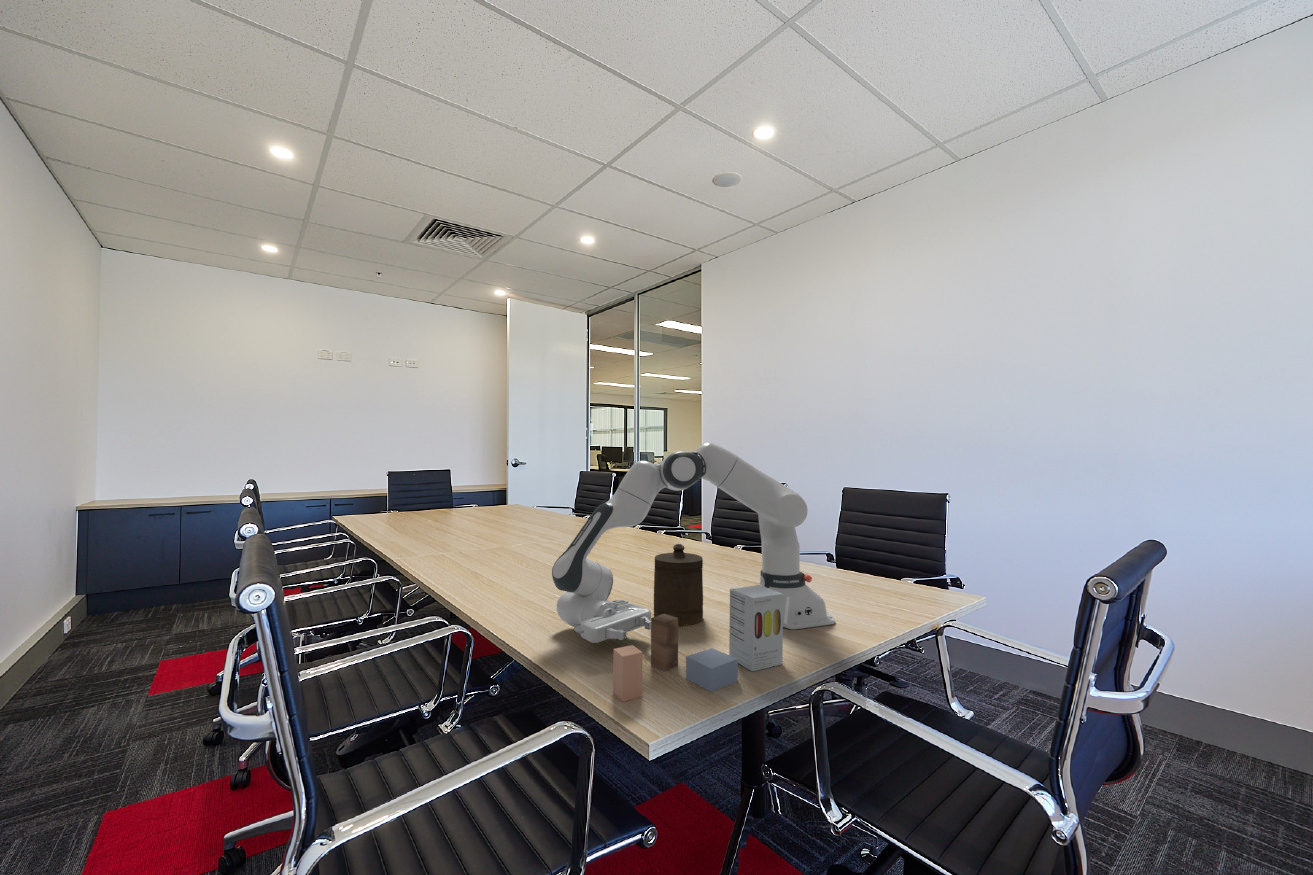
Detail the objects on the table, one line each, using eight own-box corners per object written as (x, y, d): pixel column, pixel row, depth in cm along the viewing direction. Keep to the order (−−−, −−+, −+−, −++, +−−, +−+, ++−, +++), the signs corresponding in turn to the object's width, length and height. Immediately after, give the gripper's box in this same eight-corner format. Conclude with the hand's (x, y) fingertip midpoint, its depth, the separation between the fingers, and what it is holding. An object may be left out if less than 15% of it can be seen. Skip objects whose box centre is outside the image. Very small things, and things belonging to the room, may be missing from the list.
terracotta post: (632, 687, 109) (632, 644, 110) (642, 696, 105) (642, 652, 106) (613, 692, 107) (613, 648, 107) (622, 701, 103) (622, 656, 103)
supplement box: (751, 672, 117) (751, 597, 117) (727, 657, 125) (727, 588, 125) (784, 664, 121) (784, 592, 122) (759, 650, 130) (759, 583, 130)
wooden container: (696, 608, 163) (696, 539, 164) (708, 624, 149) (708, 548, 149) (650, 611, 161) (650, 540, 162) (658, 627, 146) (658, 549, 147)
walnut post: (663, 659, 124) (663, 613, 124) (677, 665, 121) (678, 617, 121) (650, 665, 121) (651, 618, 121) (665, 671, 118) (665, 622, 118)
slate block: (711, 669, 119) (712, 647, 119) (737, 682, 113) (737, 658, 113) (686, 679, 114) (686, 656, 114) (711, 692, 108) (711, 668, 108)
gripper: (569, 615, 129) (606, 628, 119) (628, 598, 144) (665, 608, 134) (569, 640, 129) (606, 656, 119) (628, 620, 144) (665, 632, 134)
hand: (638, 630), depth 127 cm, fingers open, 8 cm apart
